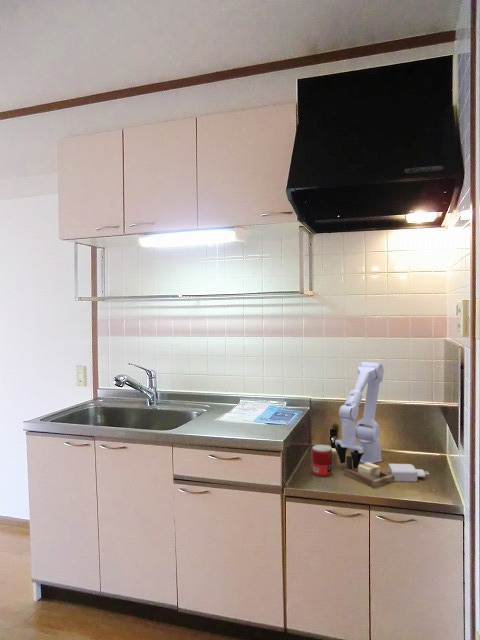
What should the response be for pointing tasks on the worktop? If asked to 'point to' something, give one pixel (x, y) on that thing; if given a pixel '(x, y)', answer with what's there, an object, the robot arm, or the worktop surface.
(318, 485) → the worktop surface
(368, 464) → the cream grey uneven dumbbell
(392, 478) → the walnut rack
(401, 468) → the charger
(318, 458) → the canned food
